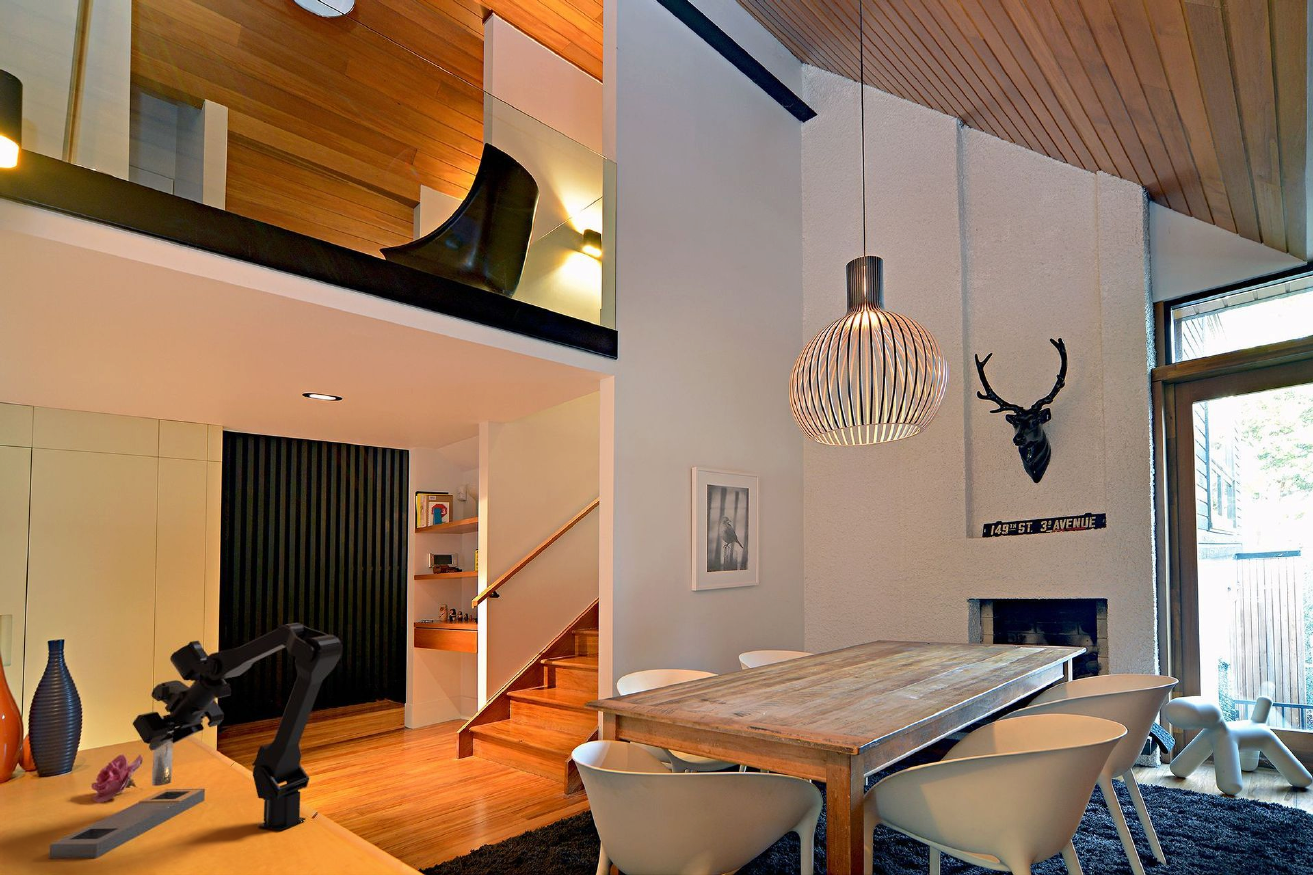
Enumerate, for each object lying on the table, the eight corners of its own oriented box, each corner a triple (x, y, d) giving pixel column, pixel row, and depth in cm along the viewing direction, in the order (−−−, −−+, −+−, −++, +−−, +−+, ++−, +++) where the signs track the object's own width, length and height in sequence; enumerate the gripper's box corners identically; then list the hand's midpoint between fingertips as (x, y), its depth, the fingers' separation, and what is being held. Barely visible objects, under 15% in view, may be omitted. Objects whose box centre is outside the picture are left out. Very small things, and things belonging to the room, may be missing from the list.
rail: (96, 857, 147) (97, 842, 148) (49, 858, 148) (50, 842, 148) (204, 800, 180) (204, 787, 180) (165, 800, 180) (166, 788, 181)
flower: (96, 819, 179) (71, 783, 179) (116, 809, 188) (91, 774, 189) (145, 784, 182) (120, 748, 182) (162, 776, 192) (138, 742, 192)
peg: (171, 783, 173) (174, 716, 175) (151, 786, 171) (155, 719, 173) (171, 779, 176) (174, 714, 178) (151, 782, 174) (155, 716, 176)
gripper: (216, 662, 184) (177, 709, 186) (141, 675, 167) (100, 728, 169) (241, 698, 181) (202, 746, 183) (168, 716, 163) (125, 769, 165)
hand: (158, 746), depth 175 cm, fingers closed on peg, 4 cm apart
